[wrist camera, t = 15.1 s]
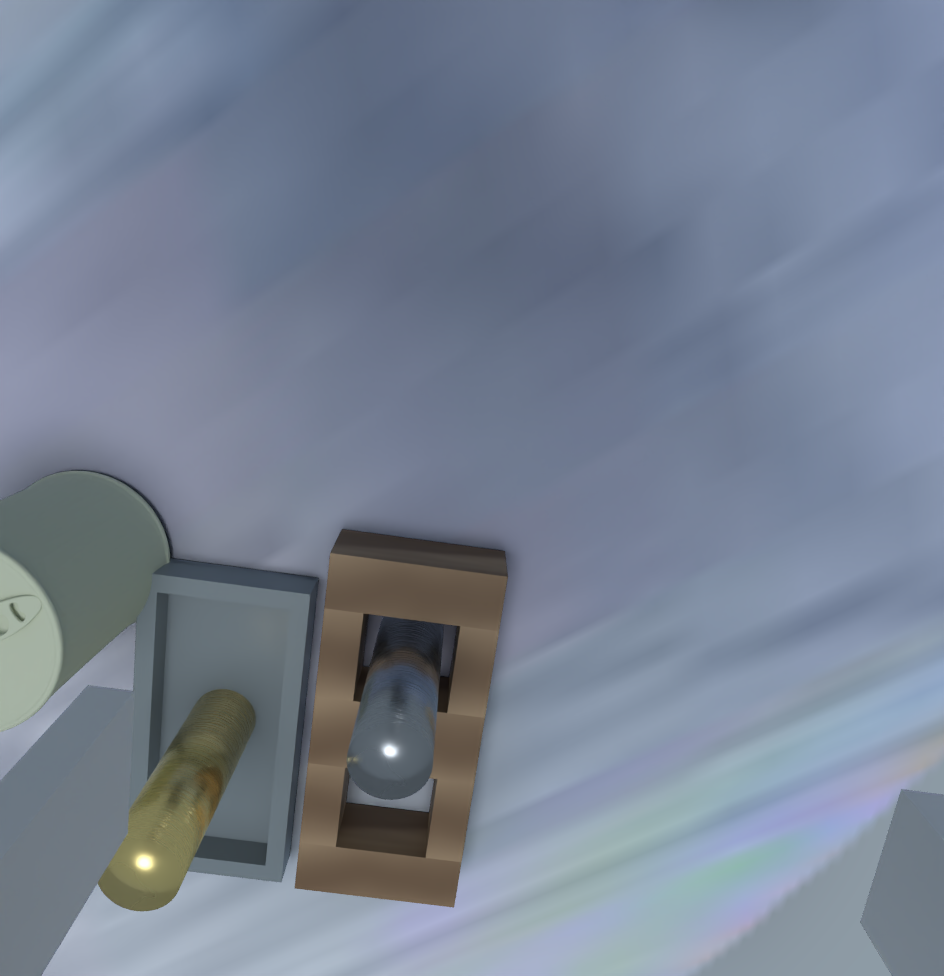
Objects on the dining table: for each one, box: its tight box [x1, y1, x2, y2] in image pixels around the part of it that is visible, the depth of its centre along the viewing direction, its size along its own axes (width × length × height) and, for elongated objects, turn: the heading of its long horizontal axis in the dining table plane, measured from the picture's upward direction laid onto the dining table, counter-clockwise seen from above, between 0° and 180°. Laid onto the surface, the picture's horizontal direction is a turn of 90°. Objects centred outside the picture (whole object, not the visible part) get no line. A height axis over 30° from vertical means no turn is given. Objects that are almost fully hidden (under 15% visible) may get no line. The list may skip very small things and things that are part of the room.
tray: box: [129, 558, 319, 882], centre depth 48 cm, size 18×9×2 cm, turn 172°
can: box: [0, 471, 170, 732], centre depth 41 cm, size 9×9×12 cm
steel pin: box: [347, 616, 443, 800], centre depth 42 cm, size 4×4×13 cm
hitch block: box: [295, 529, 508, 907], centre depth 47 cm, size 20×9×4 cm, turn 172°
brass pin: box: [98, 689, 256, 911], centre depth 42 cm, size 4×4×13 cm
